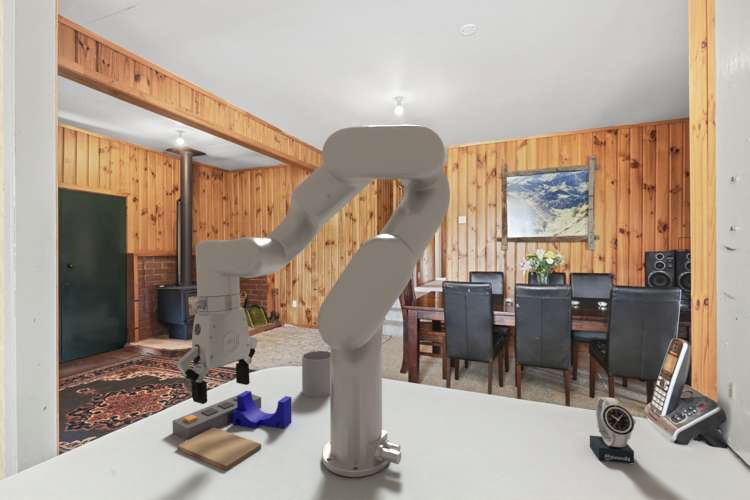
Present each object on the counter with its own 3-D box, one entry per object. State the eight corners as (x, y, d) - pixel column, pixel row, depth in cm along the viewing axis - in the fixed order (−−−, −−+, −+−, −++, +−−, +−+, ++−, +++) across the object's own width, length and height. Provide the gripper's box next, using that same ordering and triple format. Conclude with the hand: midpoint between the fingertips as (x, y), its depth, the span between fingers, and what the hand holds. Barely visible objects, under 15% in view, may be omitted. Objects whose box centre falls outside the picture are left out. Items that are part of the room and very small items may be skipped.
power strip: (245, 403, 90) (245, 389, 90) (262, 409, 87) (261, 395, 87) (172, 434, 75) (172, 417, 75) (189, 443, 72) (188, 425, 72)
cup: (323, 384, 102) (323, 349, 102) (339, 393, 96) (339, 355, 96) (296, 391, 97) (296, 354, 97) (312, 401, 91) (311, 362, 91)
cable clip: (232, 425, 79) (232, 398, 79) (246, 416, 83) (245, 390, 83) (280, 433, 75) (280, 405, 75) (291, 423, 80) (291, 396, 80)
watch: (603, 472, 62) (603, 408, 62) (586, 446, 70) (586, 390, 69) (640, 476, 60) (640, 411, 60) (618, 449, 68) (618, 392, 68)
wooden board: (261, 448, 69) (261, 444, 69) (226, 470, 62) (226, 466, 62) (213, 430, 76) (213, 427, 76) (177, 449, 69) (177, 445, 69)
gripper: (189, 312, 60) (193, 414, 60) (266, 298, 75) (270, 380, 75) (163, 310, 63) (167, 407, 63) (241, 297, 79) (244, 375, 79)
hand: (222, 392), depth 69 cm, fingers open, 9 cm apart
